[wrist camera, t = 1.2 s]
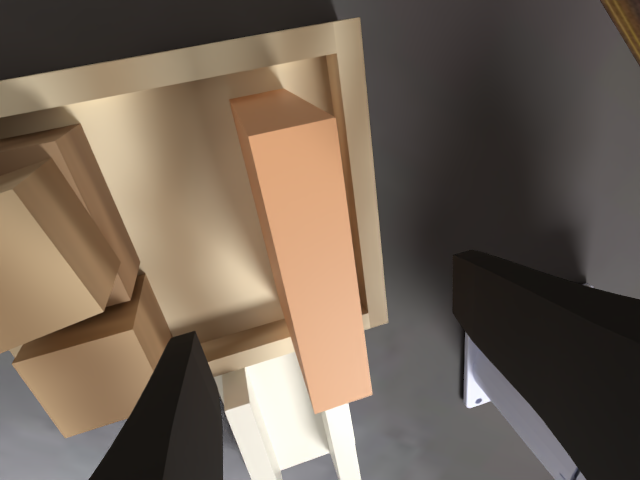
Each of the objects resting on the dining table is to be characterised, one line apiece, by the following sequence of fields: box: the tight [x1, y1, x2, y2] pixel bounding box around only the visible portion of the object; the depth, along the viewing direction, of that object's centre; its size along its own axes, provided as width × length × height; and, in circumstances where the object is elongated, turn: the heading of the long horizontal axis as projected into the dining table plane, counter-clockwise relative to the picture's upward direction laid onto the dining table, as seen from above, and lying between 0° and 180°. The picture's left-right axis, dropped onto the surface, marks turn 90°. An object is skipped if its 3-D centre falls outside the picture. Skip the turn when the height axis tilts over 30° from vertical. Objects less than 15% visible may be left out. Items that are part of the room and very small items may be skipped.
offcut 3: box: [12, 273, 173, 438], centre depth 17 cm, size 4×4×4 cm
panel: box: [229, 88, 372, 414], centre depth 15 cm, size 2×10×7 cm, turn 9°
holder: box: [214, 352, 361, 480], centre depth 23 cm, size 7×10×4 cm
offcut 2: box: [0, 158, 121, 353], centre depth 12 cm, size 4×4×3 cm
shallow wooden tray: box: [0, 17, 388, 377], centre depth 17 cm, size 16×14×2 cm
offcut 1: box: [0, 123, 140, 307], centre depth 14 cm, size 4×6×3 cm, turn 9°
